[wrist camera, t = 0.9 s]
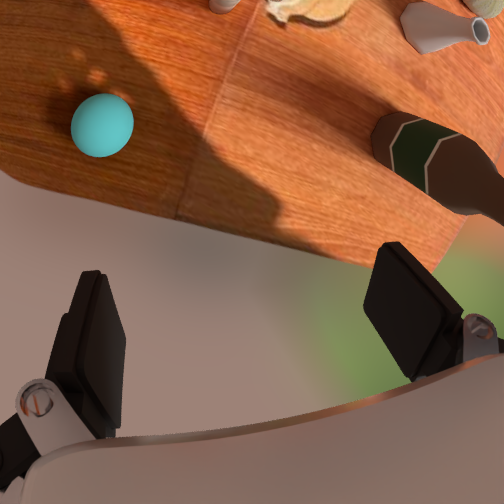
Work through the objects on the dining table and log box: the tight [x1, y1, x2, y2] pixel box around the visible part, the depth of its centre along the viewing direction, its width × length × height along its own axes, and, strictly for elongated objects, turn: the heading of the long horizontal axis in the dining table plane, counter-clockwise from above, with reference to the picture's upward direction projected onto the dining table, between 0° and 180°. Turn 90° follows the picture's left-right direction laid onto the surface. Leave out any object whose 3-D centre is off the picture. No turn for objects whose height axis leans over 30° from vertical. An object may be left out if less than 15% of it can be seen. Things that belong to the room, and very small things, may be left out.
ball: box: [71, 94, 133, 157], centre depth 26 cm, size 6×6×6 cm
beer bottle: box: [371, 112, 504, 226], centre depth 26 cm, size 8×8×24 cm
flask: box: [400, 1, 490, 55], centre depth 24 cm, size 7×7×10 cm
